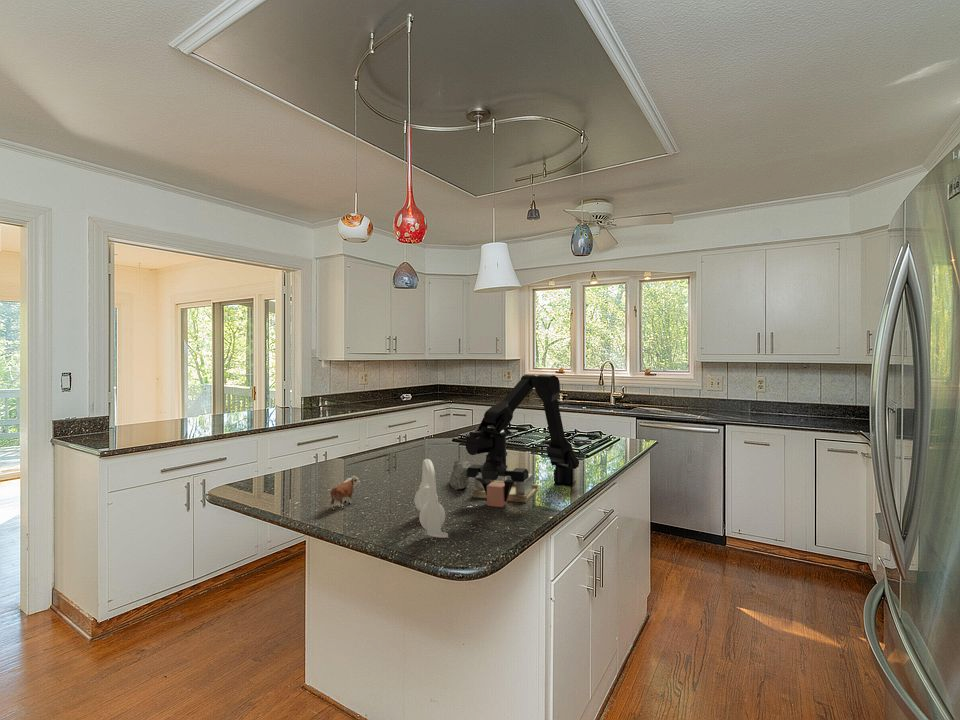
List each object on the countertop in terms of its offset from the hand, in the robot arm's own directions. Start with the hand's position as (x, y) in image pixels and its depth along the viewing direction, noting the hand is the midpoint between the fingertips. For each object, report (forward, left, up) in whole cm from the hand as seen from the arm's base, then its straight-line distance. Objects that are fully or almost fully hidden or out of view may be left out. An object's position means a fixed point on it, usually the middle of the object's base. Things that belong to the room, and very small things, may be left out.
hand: (497, 500), depth 155 cm
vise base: (+1, -11, -1) cm, 11 cm away
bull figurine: (+44, +17, -1) cm, 47 cm away
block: (0, 0, -1) cm, 1 cm away
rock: (+19, -15, -1) cm, 24 cm away
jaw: (-6, -11, 0) cm, 12 cm away
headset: (+11, +24, -1) cm, 26 cm away
